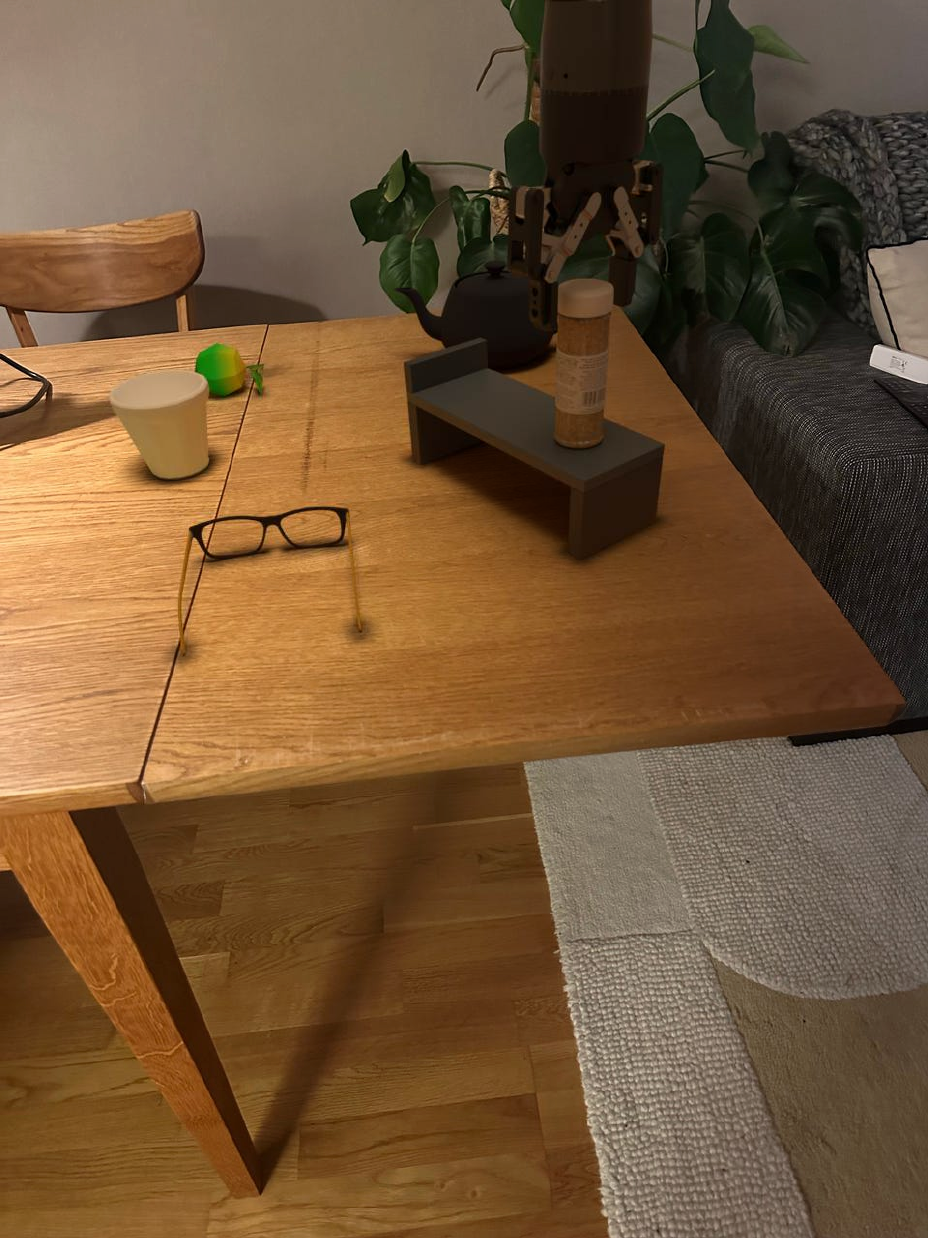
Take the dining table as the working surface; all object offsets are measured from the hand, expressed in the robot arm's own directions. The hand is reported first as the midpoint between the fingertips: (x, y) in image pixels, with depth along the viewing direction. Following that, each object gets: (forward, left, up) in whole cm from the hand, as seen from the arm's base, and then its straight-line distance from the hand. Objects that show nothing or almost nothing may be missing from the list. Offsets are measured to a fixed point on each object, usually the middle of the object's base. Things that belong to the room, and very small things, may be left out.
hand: (583, 315), depth 66 cm
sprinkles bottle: (0, 0, -11) cm, 11 cm away
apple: (+52, +11, -19) cm, 56 cm away
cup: (+36, +25, -19) cm, 48 cm away
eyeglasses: (+8, +28, -19) cm, 35 cm away
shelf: (+8, 0, -19) cm, 21 cm away
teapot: (+38, -21, -19) cm, 47 cm away
